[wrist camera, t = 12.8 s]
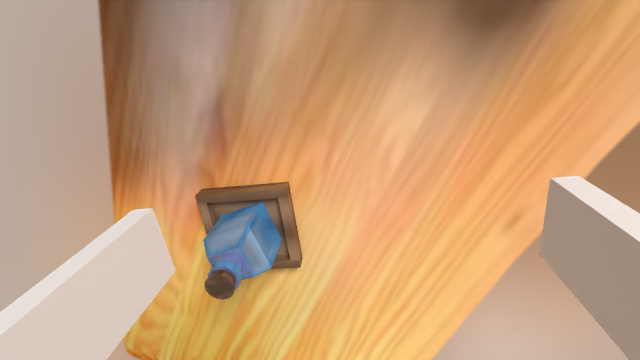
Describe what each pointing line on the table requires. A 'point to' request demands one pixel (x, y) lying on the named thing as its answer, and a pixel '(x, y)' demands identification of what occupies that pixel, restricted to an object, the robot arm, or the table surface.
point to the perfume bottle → (240, 248)
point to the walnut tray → (276, 204)
